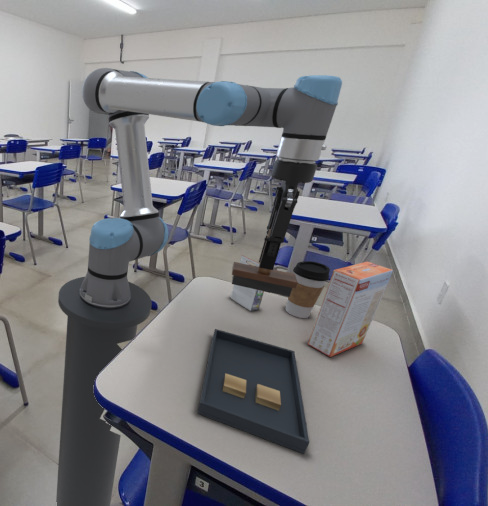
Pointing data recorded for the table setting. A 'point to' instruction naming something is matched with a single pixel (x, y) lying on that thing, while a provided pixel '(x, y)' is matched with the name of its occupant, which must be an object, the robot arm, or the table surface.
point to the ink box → (247, 292)
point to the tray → (255, 372)
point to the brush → (263, 278)
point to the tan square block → (234, 385)
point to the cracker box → (349, 307)
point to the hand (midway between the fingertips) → (265, 265)
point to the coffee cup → (307, 287)
